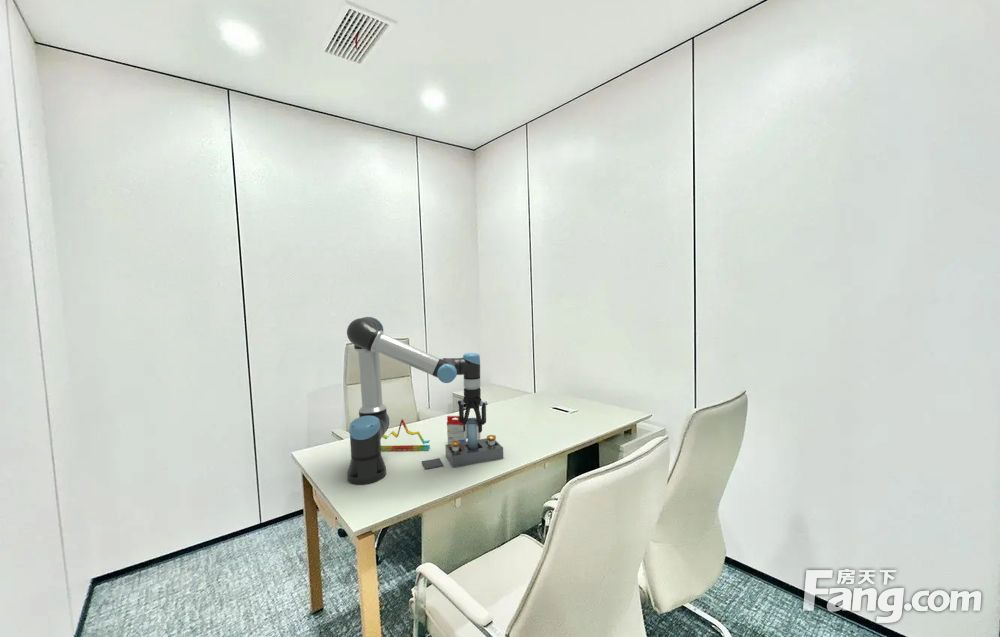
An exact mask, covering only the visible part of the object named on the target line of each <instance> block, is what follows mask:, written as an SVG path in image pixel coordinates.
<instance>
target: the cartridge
mask: <svg viewBox="0 0 1000 637" xmlns="http://www.w3.org/2000/svg"><path fill="white" fill-rule="evenodd" d="M477 425H478V423H477V418H476V417H468V419H467V436H468V438H467V441H468V449H469V450H472V449H478V440H477V433H476V426H477Z"/></svg>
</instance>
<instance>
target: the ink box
mask: <svg viewBox="0 0 1000 637" xmlns="http://www.w3.org/2000/svg"><path fill="white" fill-rule="evenodd" d="M446 417H447V419H446V420H447V422H446V429H447V445H448V444H451V442H452V441H460V442H467V439H465V431H464V430H463V423H461V422H459V415H447V416H446Z"/></svg>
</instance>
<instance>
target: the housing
mask: <svg viewBox="0 0 1000 637" xmlns="http://www.w3.org/2000/svg"><path fill="white" fill-rule="evenodd" d="M444 450H445V457H446V458H447V460H448V462H449V463H450V465H451V467H452V468H459V467H464V466H469V465H474V464H475V465H476V464H481V463H486V462H487V463H488V462H492V461H498V460H503V459H504V447H503V446H502V445H501V444H500V442H498V441H497V440H496V439H495V446H488V440H487V437H486V438H480V439H479V440H478V449H472V450H469V449H468V440H466V442H460V445H459V452H454V453H452V446H451V444H448V443H447V444H445V448H444Z"/></svg>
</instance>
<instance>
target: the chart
mask: <svg viewBox="0 0 1000 637" xmlns="http://www.w3.org/2000/svg"><path fill="white" fill-rule="evenodd" d="M402 425H403V428H404V430H405V432H406V434H408V435H411V436H415V435H417V436H418V438H419V439H420V441H421V443H422V444H417V445H416V444H415V445H413V444H411V445H410V444H409V445H405V444H404V445H401V444H399V445H381V452H429V451H430V449H431V445H430V444H429V443H430V442H431V441H430V440H425V439H424V438H423V437H422V435H421V433H420V432H419V431H415V432H414V431H411V430H409V429H408V427H407V424H406V423H405V421H404V419H403V418H401V420H400V423H399V427H398V431H397V432H395V431H393V430H392V431H391V432H390V434H388V436H387V435H386V434H384V435H383V437H382V438H383V439H385V440H387V439H388V438H389V437H390V435H392V436H394V437H395V438H398V437H399V436H400V435H399V434H400V430H401V427H402Z"/></svg>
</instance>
